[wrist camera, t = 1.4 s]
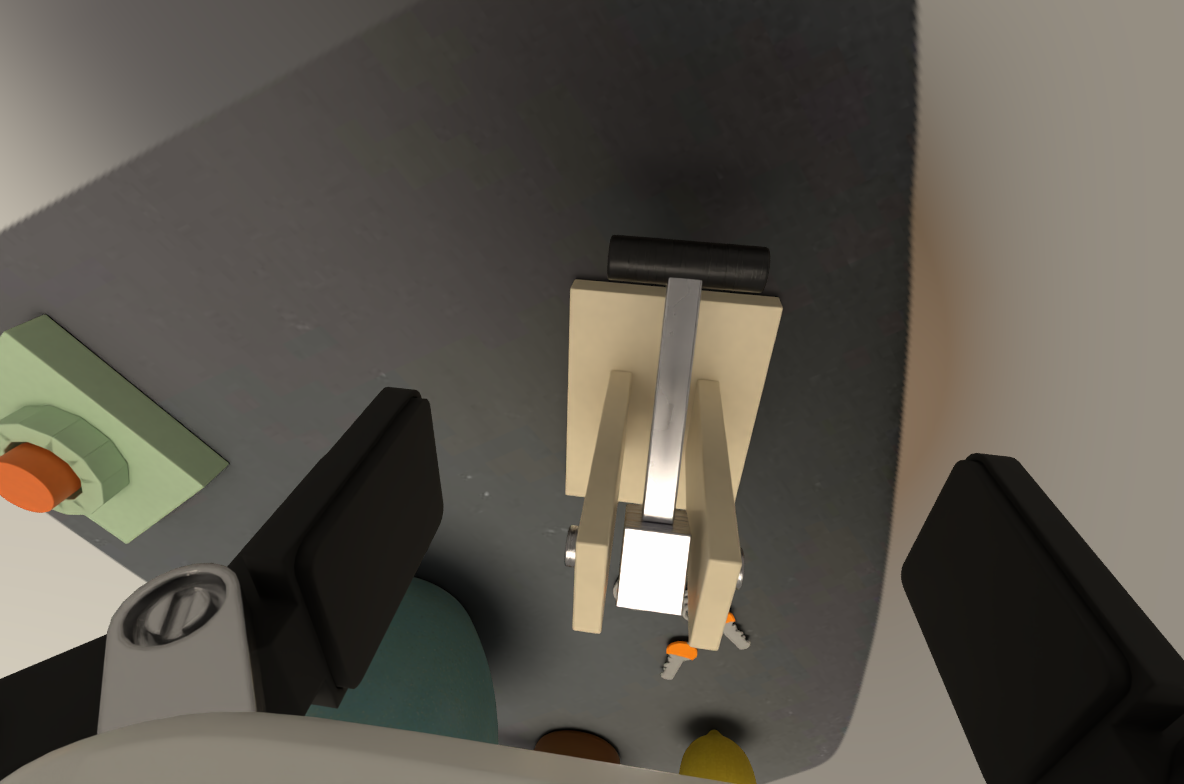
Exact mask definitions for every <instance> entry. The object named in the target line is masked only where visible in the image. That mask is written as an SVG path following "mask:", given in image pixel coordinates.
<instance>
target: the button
mask: <svg viewBox="0 0 1184 784" xmlns="http://www.w3.org/2000/svg"><path fill="white" fill-rule="evenodd" d="M80 488H81V480H80V478H79V477H78V476H77V475H76V473H75V472H74V471H73V469H72V468H71V467H70V466H69V464H68V463H66V462H65V461H64V460H62V459H61V458H60V457H58V456H57V455H55V454H54V453H53V452H51V451H50V450H47V449H45V448H42V447H40V446H37V445H34V444H32V443H29V442H26V443H22V444H20V445H18V446H17V447H15V448H13V449H12V450H10V451H8V452H7V453H5V454H3V455H2V456H0V495H1V496H2V497H3V498H5V499H6V500H7V501H9V502H11V503H12V504H14V505H16V506H18V507H20V508H23V509H25V510H29V511H32V512H39V513H43V512H48V511H50V510H52V509H53V508H54V507H56V506H57V505H58V504H60V503H61V502H62V501H64V500H65V499H66V498H68V497H69V496H71V495H72V494H73V493H75V492H76V491H77V490H79V489H80Z"/></svg>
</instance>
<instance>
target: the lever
mask: <svg viewBox="0 0 1184 784" xmlns="http://www.w3.org/2000/svg"><path fill="white" fill-rule="evenodd" d="M769 268H770V251H769V249H768V248H767V247H759V246H746V245H734V244H722V243H710V242H697V241H685V240H673V239H661V238H648V237H636V236H624V235H612V237H611V239H610V245H609V253H608V265H607V276H608V279H610V280H618V281H629V282H640V283H651V284H663V285H666V294H665V303H664V312H663V321H662V330H661V339H660V348H659V357H658V366H657V376H656V385H655V394H654V403H653V412H652V421H651V430H650V439H649V448H648V457H647V466H646V475H645V484H644V493H643V502H642V505H635V504H627V505H626V513H625V522H624V531H623V541H622V550H621V559H620V569H619V578H618V588H617V597H616V606H617V607H622V608H629V609H636V610H643V611H650V612H657V613H664V614H671V615H679V616H681V615H682V612H683V604H684V596H685V588H686V580H687V572H688V563H689V555H690V547H691V539H692V535H691V530H690V526H689V521H688V516H687V512H686V511H683V510H676V502H677V494H678V485H679V477H680V469H681V460H682V452H683V443H684V435H685V427H686V418H687V410H688V401H689V393H690V385H691V376H692V368H693V359H694V351H695V343H696V334H697V326H698V317H699V309H700V301H701V292H702V288H708V289H719V290H730V291H741V292H753V293H761V292H762V291H763V290H764V288H765V285H766V282H767V279H768V274H769Z"/></svg>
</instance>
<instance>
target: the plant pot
mask: <svg viewBox="0 0 1184 784" xmlns="http://www.w3.org/2000/svg"><path fill="white" fill-rule="evenodd" d="M305 716H308V717H317V718H324V719H331V720H338V721H345V722H352V723H359V724H366V725H373V726H380V727H387V728H394V729H401V730H408V731H415V732H422V733H428V734H435V735H441V736H447V737H453V738H459V739H466V740H472V741H478V742H484V743H490V744H497V745H498V723H497V711H496V702H495V694H494V689H493V683H492V678H491V673H490V670H489V666H488V662H487V659H486V656H485V653H484V650H483V647H482V644H481V642H480V639H479V637H478V634H477V632H476V630H475V628H474V625H473V623H472V621H471V619H470V617H469V615H468V614H467V612H466V611H465V609H464V608H463V606H462V605H461V604H460V603H459V602H458V601H457V600H456V599H455V598H454V597H453V596H452V595H451V594H449V593H448V592H447V591H445V590H443V589H442V588H440V587H438V586H436V585H434V584H432V583H430V582H428V581H425V580H422V579H419V578H415V577H413V579H412V581H411V583H410V585H409V587H408V589H407V591H406V593H405V595H404V597H403V599H402V601H401V603H400V605H399V607H398V609H397V611H396V613H395V615H394V617H393V619H392V621H391V623H390V625H389V627H388V629H387V631H386V633H385V635H384V637H383V639H382V641H381V643H380V645H379V647H378V649H377V651H376V654H375V656H374V658H373V660H372V662H371V664H370V666H369V668H368V670H367V672H366V674H365V676H364V678H363V679H362V681H361V683H360V684H359V685H358V687H357V688H355V689H349V688H348V690H347V692H346V694H345V696H344V698H343V699H342V701H341V703H340V705H339V707H338V709H336V708H330V707H324V706H318V705H312V704H311V706H310V707H309V709H308V711H307V713H306V715H305Z"/></svg>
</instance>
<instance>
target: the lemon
mask: <svg viewBox="0 0 1184 784" xmlns="http://www.w3.org/2000/svg"><path fill="white" fill-rule="evenodd" d="M679 774H680V775H686V776H692V777H698V778H704V779H710V780H716V781H722V782H728V783H734V784H756V779H755V776H754V772H753V769H752V767H751V764H750V762H749V760H748V758H747V756H746V754H745V753H744V752H743V750H742V749H741V748H740V747H739V746H738V745H737V744H736V743H735V742H733V741H732V740H730V739H729V738H727V737H724V736H722V735H721V734H720V733H719V732H718V731H717V730H711V731H710V732H709V733H708V734H707V735H704V736H701V737H699V738H698V739H696V740H694V741H693V742H692V743H691V744H690V746H689V747H688V748H687V750H686V751H685V753H684V755H683V758H682V762H681V766H680V771H679Z"/></svg>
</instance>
